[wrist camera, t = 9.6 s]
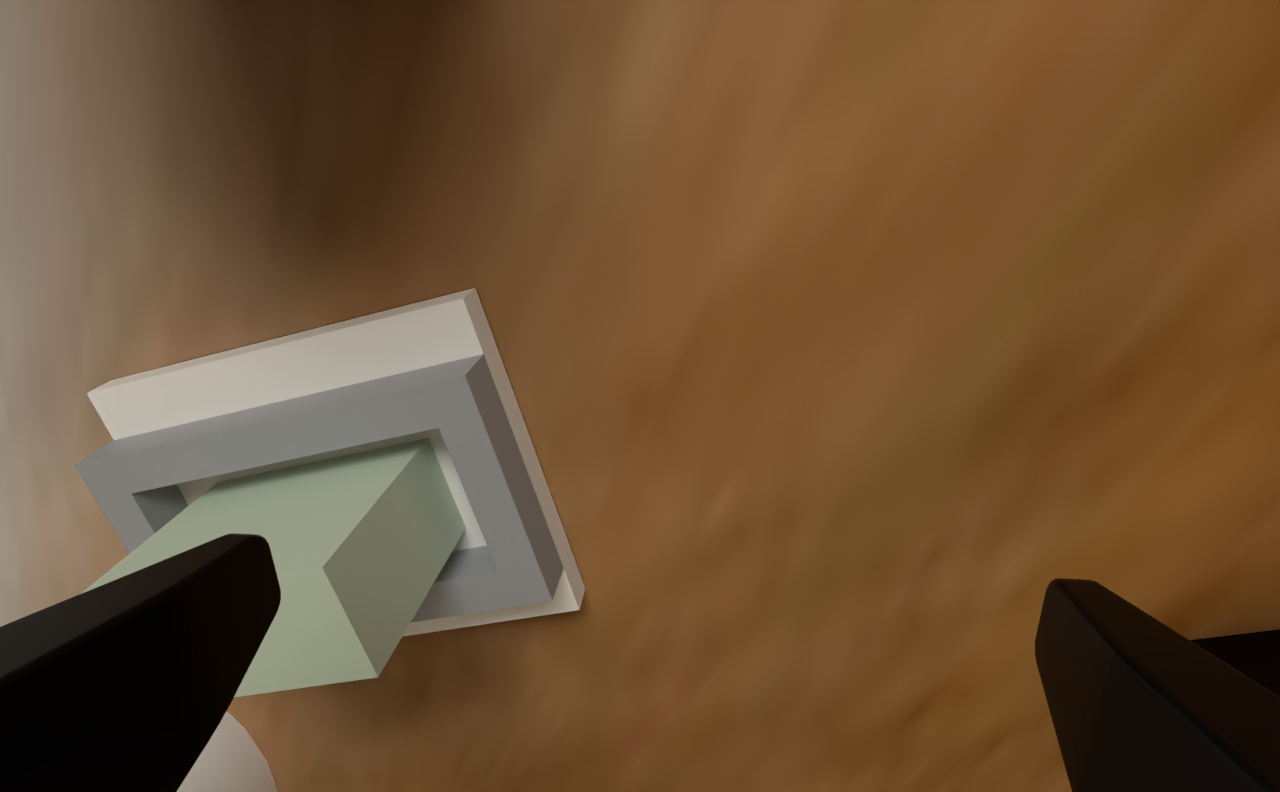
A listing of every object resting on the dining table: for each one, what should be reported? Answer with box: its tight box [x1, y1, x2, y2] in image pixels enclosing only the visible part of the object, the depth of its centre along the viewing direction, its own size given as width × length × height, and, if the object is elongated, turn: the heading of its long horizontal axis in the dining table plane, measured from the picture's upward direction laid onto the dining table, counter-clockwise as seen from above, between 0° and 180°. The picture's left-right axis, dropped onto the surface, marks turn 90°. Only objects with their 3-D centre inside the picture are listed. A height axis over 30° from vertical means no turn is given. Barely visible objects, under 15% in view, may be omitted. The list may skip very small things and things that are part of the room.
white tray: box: [74, 288, 585, 637], centre depth 23 cm, size 10×12×2 cm
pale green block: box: [81, 438, 466, 697], centre depth 20 cm, size 7×3×6 cm, turn 106°
